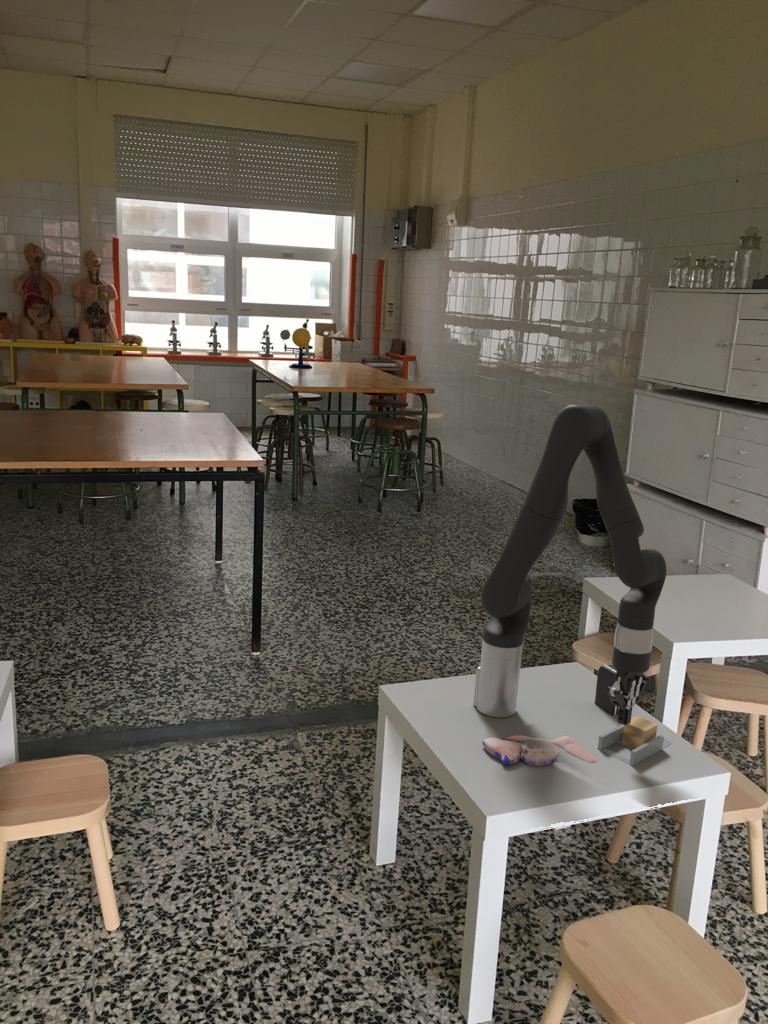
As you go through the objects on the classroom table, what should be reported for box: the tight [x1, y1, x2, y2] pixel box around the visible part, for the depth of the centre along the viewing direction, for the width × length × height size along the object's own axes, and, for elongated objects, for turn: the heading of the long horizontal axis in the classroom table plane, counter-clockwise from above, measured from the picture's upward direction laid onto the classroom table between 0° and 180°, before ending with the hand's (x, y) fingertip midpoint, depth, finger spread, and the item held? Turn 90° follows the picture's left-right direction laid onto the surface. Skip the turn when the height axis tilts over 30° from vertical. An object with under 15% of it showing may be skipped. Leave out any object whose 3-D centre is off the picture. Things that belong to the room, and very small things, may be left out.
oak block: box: [622, 715, 658, 749], centre depth 183 cm, size 5×5×5 cm
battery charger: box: [594, 664, 619, 716], centre depth 200 cm, size 7×4×11 cm, turn 25°
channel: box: [597, 724, 673, 766], centre depth 183 cm, size 9×16×4 cm, turn 132°
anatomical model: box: [481, 734, 599, 767], centre depth 179 cm, size 20×3×15 cm
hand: (623, 722), depth 177 cm, fingers closed
